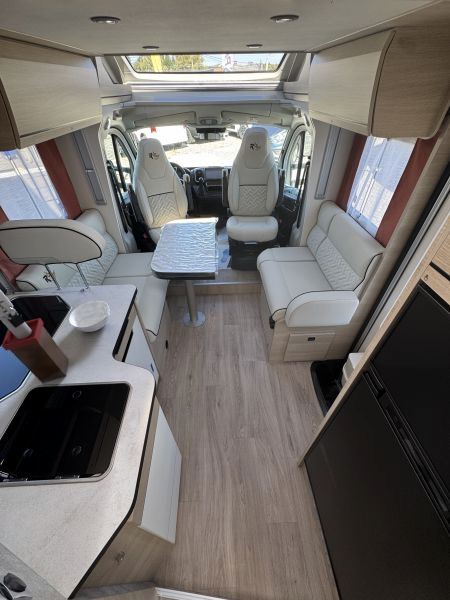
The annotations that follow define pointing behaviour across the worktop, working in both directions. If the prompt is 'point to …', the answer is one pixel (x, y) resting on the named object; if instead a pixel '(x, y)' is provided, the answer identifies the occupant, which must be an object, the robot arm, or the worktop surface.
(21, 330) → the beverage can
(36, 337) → the red tray
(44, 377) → the pedestal
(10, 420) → the worktop surface
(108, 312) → the bowl
